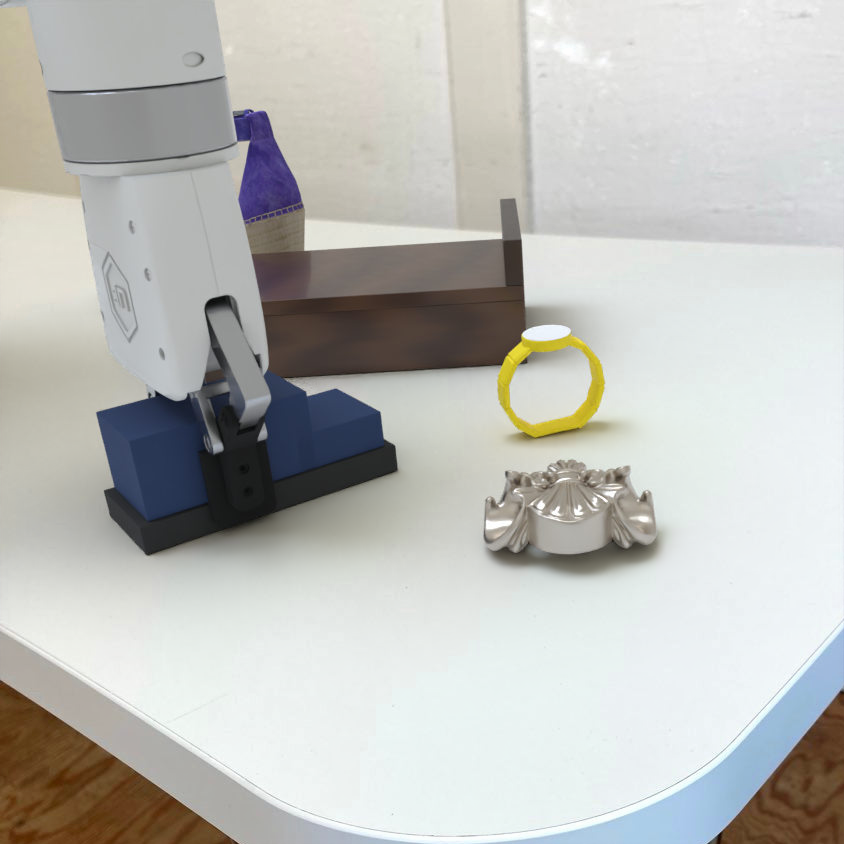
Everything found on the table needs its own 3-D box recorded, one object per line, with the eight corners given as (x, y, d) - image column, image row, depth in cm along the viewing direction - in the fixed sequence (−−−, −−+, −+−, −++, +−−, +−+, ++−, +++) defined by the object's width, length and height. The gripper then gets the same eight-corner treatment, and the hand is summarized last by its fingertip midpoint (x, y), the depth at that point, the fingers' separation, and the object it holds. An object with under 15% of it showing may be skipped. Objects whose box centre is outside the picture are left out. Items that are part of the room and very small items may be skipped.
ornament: (648, 501, 53) (648, 433, 51) (663, 570, 47) (663, 496, 45) (487, 507, 53) (483, 440, 51) (481, 577, 47) (475, 504, 45)
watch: (594, 414, 63) (592, 317, 61) (610, 431, 61) (609, 330, 58) (497, 429, 62) (490, 331, 59) (509, 447, 60) (503, 345, 57)
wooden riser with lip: (175, 384, 72) (149, 261, 68) (220, 324, 85) (201, 217, 81) (528, 363, 72) (521, 239, 68) (521, 305, 85) (515, 198, 81)
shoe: (146, 555, 51) (119, 445, 48) (109, 516, 55) (83, 412, 52) (398, 470, 58) (387, 370, 55) (349, 441, 62) (336, 347, 59)
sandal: (155, 276, 100) (120, 107, 93) (329, 291, 92) (305, 107, 85) (90, 299, 94) (48, 119, 87) (271, 318, 85) (239, 121, 79)
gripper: (10, 125, 51) (97, 467, 59) (127, 158, 39) (217, 586, 47) (161, 107, 55) (223, 430, 63) (312, 132, 42) (366, 532, 51)
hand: (220, 493), depth 55 cm, fingers closed on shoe, 5 cm apart
